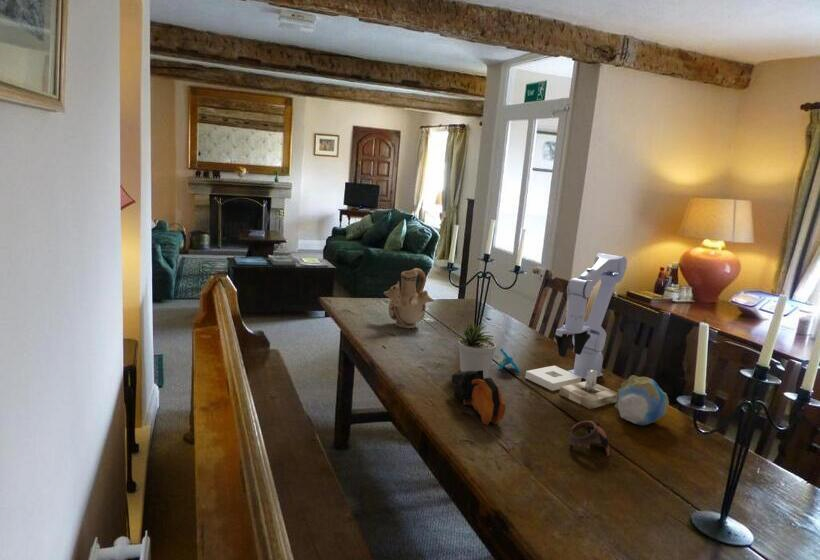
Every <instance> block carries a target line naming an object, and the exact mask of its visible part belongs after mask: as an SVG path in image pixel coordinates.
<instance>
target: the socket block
mask: <svg viewBox="0 0 820 560" xmlns="http://www.w3.org/2000/svg"><path fill="white" fill-rule="evenodd" d="M568 371H569V370H566V369H563V368H561V367H559V366H557V365H551V366H544V367H540V368H535V369H530V370H529V369H528V370H526V371H525V376H524V378H525V379H526V380H529V381H531V382H533V383H535V384H537V385H539V386H541V387H544V388H545V389H548V390H549V391H551V392H554V391H558V390H560V387H562V386H566V385H571V384H575V383H580V382H582V379H583V378H582V377H580V376H578V375H575V374H573V373H571V372H568Z"/></svg>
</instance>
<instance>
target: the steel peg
mask: <svg viewBox="0 0 820 560" xmlns="http://www.w3.org/2000/svg"><path fill="white" fill-rule="evenodd" d="M597 372H598V371H596V370H594V369H588V370H587V377H586V379H585V381H586V384H585V392H588V393H590V394H594V392H595V385H596V384H597V378H598V377H597Z"/></svg>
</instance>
